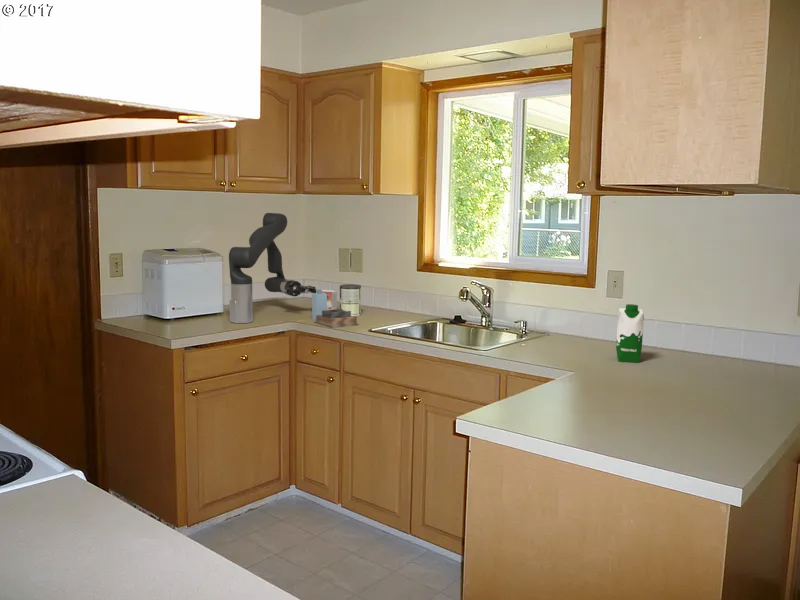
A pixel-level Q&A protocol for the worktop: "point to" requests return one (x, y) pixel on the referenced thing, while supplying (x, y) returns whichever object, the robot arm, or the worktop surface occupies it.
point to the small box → (331, 299)
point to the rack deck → (336, 318)
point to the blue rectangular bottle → (318, 303)
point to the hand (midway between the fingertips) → (307, 291)
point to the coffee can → (351, 298)
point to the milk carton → (629, 333)
